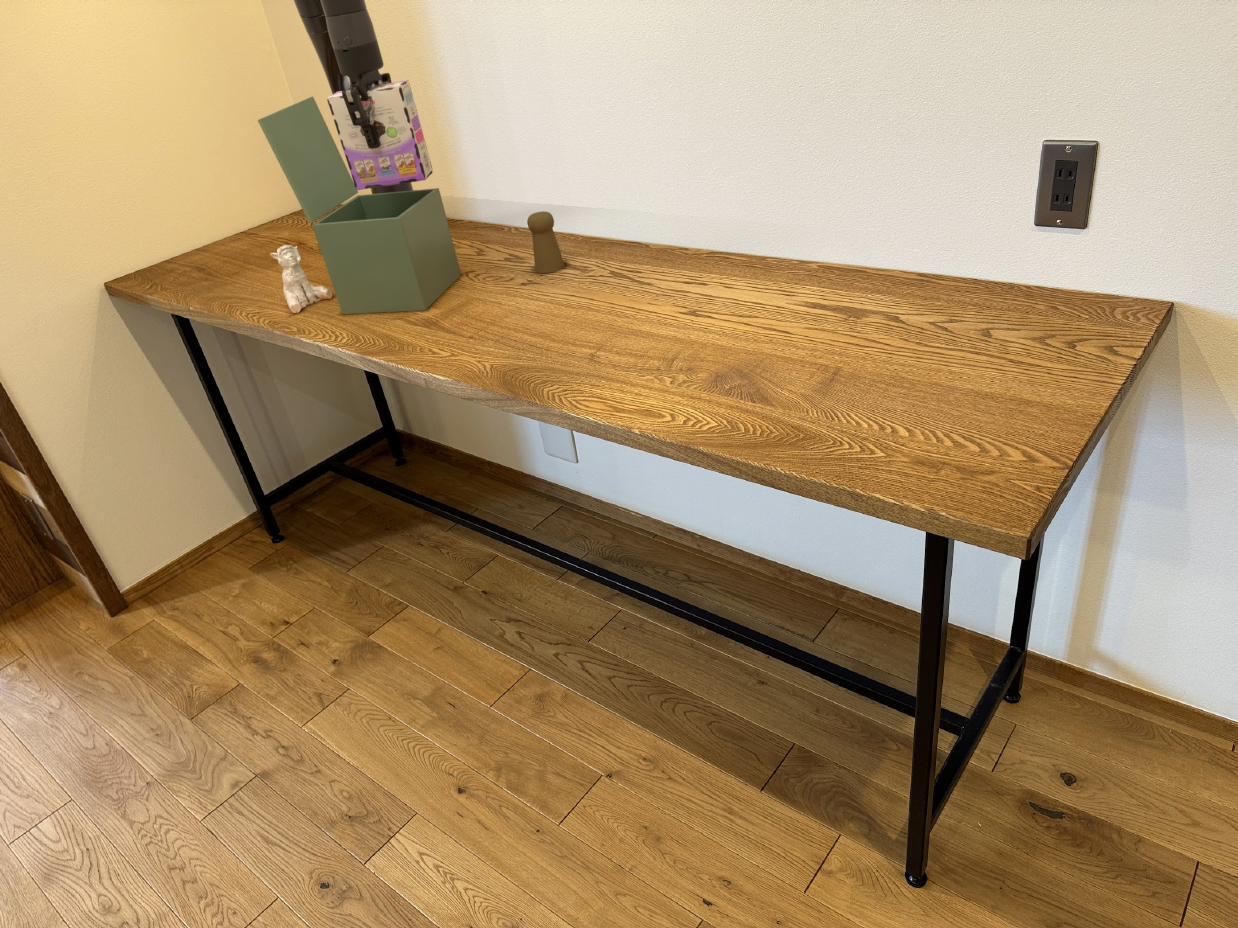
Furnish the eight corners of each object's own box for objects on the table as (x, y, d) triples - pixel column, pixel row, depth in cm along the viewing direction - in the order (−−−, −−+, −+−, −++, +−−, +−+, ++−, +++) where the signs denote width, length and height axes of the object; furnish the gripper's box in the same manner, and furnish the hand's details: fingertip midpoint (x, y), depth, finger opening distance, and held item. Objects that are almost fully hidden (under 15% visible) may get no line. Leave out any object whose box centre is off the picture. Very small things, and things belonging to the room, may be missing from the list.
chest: (461, 274, 182) (438, 188, 173) (425, 310, 168) (398, 218, 159) (383, 279, 188) (357, 195, 178) (342, 314, 174) (311, 225, 164)
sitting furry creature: (294, 315, 177) (272, 257, 171) (273, 308, 183) (251, 252, 176) (334, 297, 183) (315, 240, 176) (313, 291, 188) (293, 236, 182)
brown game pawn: (569, 261, 179) (558, 207, 173) (558, 273, 174) (547, 218, 169) (542, 262, 181) (531, 208, 175) (530, 273, 177) (518, 219, 171)
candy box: (434, 172, 166) (410, 78, 157) (426, 181, 161) (400, 85, 152) (365, 181, 168) (336, 89, 159) (354, 191, 163) (325, 96, 154)
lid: (313, 96, 169) (291, 104, 171) (260, 118, 155) (238, 127, 157) (358, 192, 178) (337, 199, 180) (312, 222, 164) (290, 228, 166)
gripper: (355, 37, 158) (382, 133, 168) (314, 52, 147) (346, 155, 156) (392, 31, 156) (418, 129, 165) (354, 47, 145) (384, 151, 154)
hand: (383, 142), depth 161 cm, fingers closed on candy box, 6 cm apart
